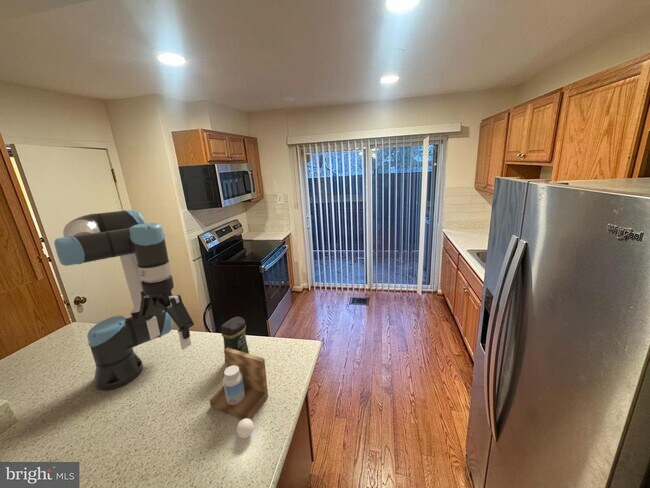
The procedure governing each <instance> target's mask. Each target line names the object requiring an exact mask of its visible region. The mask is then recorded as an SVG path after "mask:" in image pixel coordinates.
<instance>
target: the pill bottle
mask: <svg viewBox="0 0 650 488" xmlns="http://www.w3.org/2000/svg"><path fill="white" fill-rule="evenodd" d="M223 374H224V375H223V376H224V377H223V380H222V382H223V383H222V384H223V385H224V390H225V396H226V401H227V403H228V404H231V405H235V404H238V403H240V402H241V401H242V400H243V399H244V397H245V390H244V383H243V377H242V374H241V372H240V371H239V367H238V366H235V365H234V366H230V367H228V368H227V367H226V368H225V369H224V372H223Z"/></svg>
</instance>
